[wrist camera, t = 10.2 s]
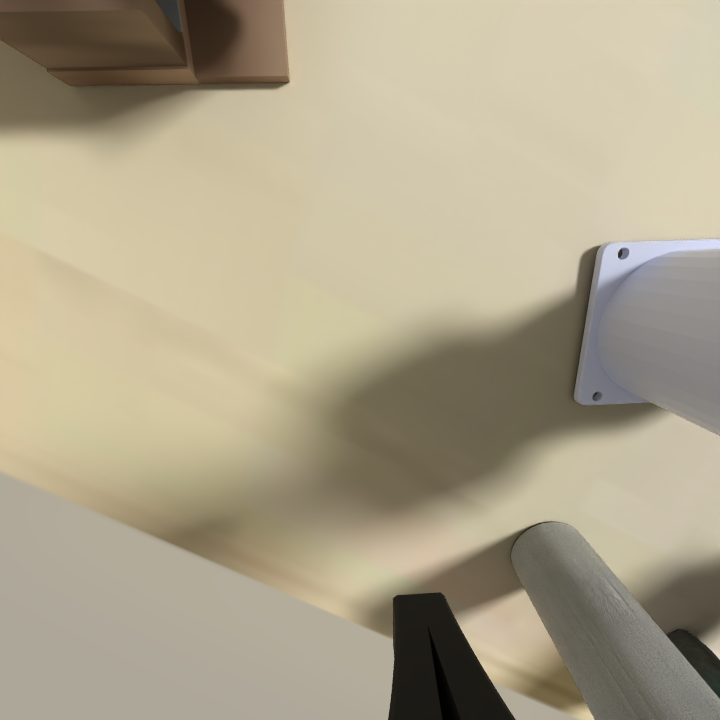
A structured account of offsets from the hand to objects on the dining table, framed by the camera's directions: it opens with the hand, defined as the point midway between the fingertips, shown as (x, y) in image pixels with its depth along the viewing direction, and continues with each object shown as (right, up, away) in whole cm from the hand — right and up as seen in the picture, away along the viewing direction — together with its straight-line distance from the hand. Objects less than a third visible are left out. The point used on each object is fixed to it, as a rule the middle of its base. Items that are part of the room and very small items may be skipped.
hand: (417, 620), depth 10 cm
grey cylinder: (+10, -4, +12) cm, 16 cm away
